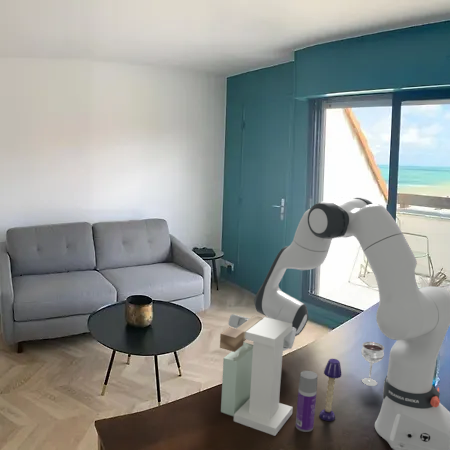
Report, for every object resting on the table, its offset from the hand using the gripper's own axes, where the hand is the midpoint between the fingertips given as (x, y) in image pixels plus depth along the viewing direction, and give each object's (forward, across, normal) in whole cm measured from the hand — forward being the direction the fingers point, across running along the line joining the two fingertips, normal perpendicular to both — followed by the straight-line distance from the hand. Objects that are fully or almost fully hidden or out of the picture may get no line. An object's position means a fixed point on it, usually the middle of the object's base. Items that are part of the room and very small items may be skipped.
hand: (252, 323), depth 149 cm
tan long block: (+4, 0, +5) cm, 6 cm away
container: (-4, +20, +22) cm, 31 cm away
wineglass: (-34, +29, +6) cm, 45 cm away
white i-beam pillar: (-2, +9, +23) cm, 25 cm away
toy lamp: (-11, +24, +18) cm, 33 cm away
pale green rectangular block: (-4, 0, +22) cm, 23 cm away
